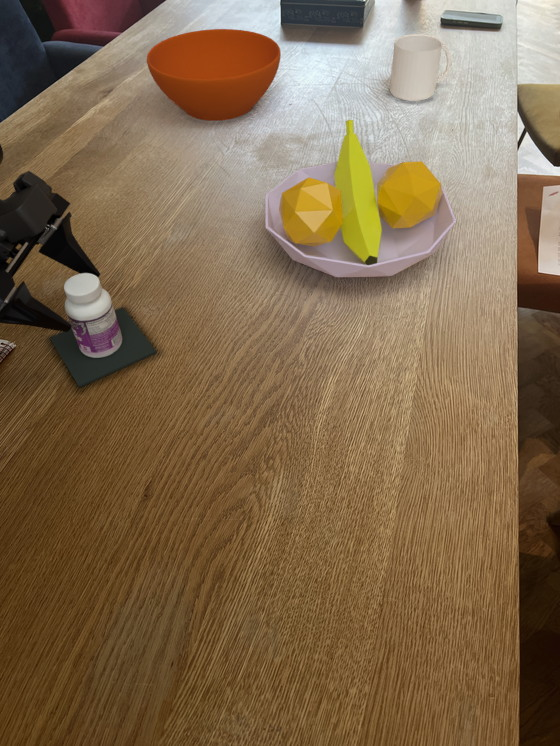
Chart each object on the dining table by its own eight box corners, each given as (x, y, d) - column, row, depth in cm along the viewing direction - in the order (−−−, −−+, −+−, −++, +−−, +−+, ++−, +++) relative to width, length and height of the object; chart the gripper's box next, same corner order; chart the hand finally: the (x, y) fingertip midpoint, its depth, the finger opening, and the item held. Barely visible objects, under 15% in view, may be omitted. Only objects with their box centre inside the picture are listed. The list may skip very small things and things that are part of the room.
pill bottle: (72, 342, 76) (49, 281, 69) (110, 323, 78) (92, 262, 71) (91, 366, 73) (69, 305, 66) (131, 346, 76) (113, 285, 68)
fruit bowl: (437, 315, 79) (453, 241, 70) (238, 280, 84) (231, 208, 76) (459, 200, 97) (474, 131, 88) (294, 178, 102) (294, 111, 94)
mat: (79, 388, 72) (78, 385, 71) (50, 339, 77) (49, 337, 77) (156, 353, 75) (156, 350, 75) (123, 309, 81) (122, 306, 81)
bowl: (279, 77, 131) (278, 26, 123) (283, 132, 114) (282, 76, 106) (162, 82, 131) (154, 31, 123) (148, 137, 114) (138, 82, 106)
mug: (393, 102, 121) (399, 52, 114) (385, 83, 127) (390, 35, 120) (453, 99, 121) (463, 49, 115) (443, 81, 128) (451, 32, 121)
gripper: (-62, 221, 53) (91, 324, 60) (27, 122, 66) (146, 217, 72) (-102, 285, 60) (40, 371, 67) (-14, 184, 72) (98, 266, 79)
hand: (84, 302), depth 71 cm, fingers open, 9 cm apart
